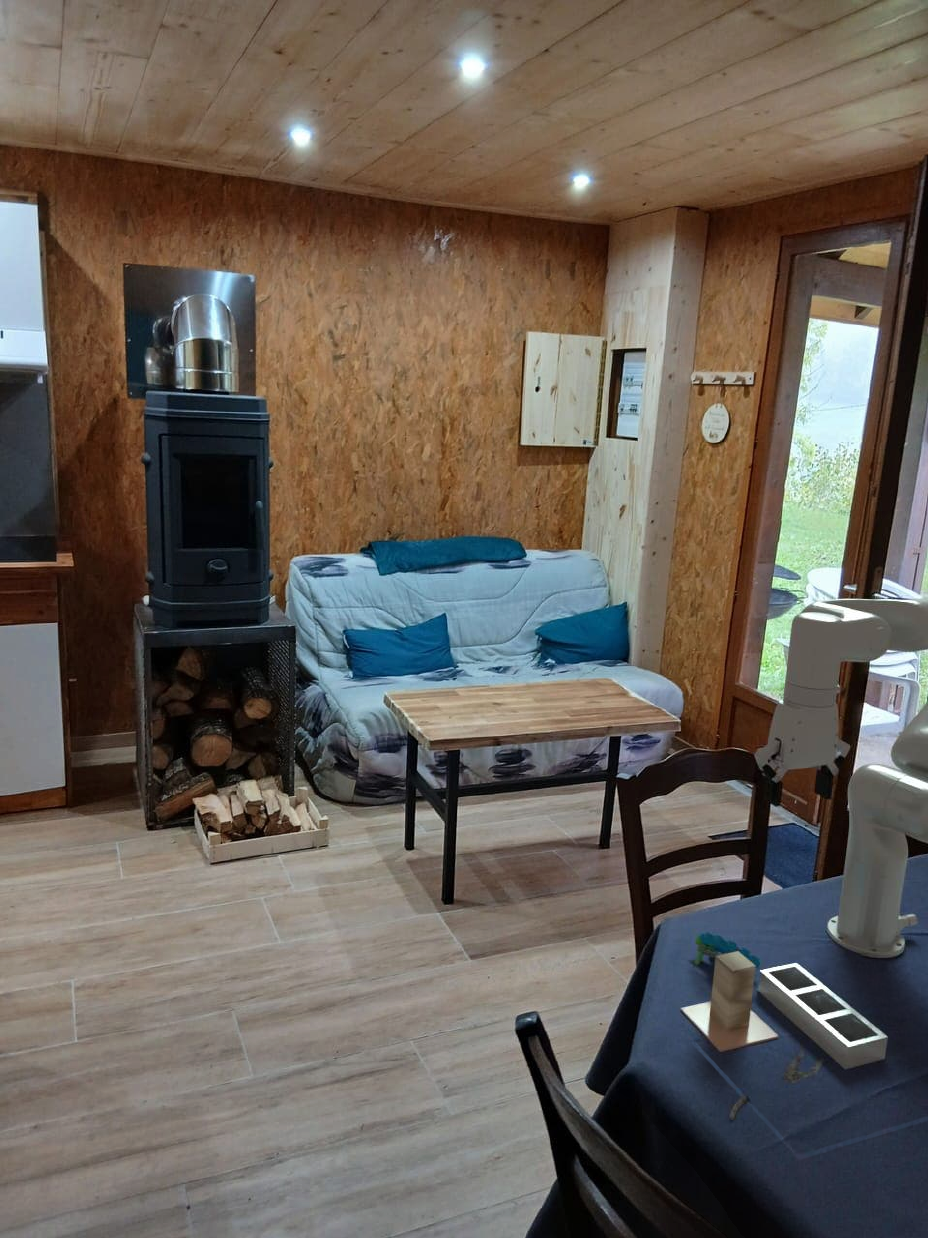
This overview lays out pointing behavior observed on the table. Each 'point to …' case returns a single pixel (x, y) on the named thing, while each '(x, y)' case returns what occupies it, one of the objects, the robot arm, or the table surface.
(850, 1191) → the table surface
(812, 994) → the shelf
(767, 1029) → the tile
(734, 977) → the peg
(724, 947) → the gear
